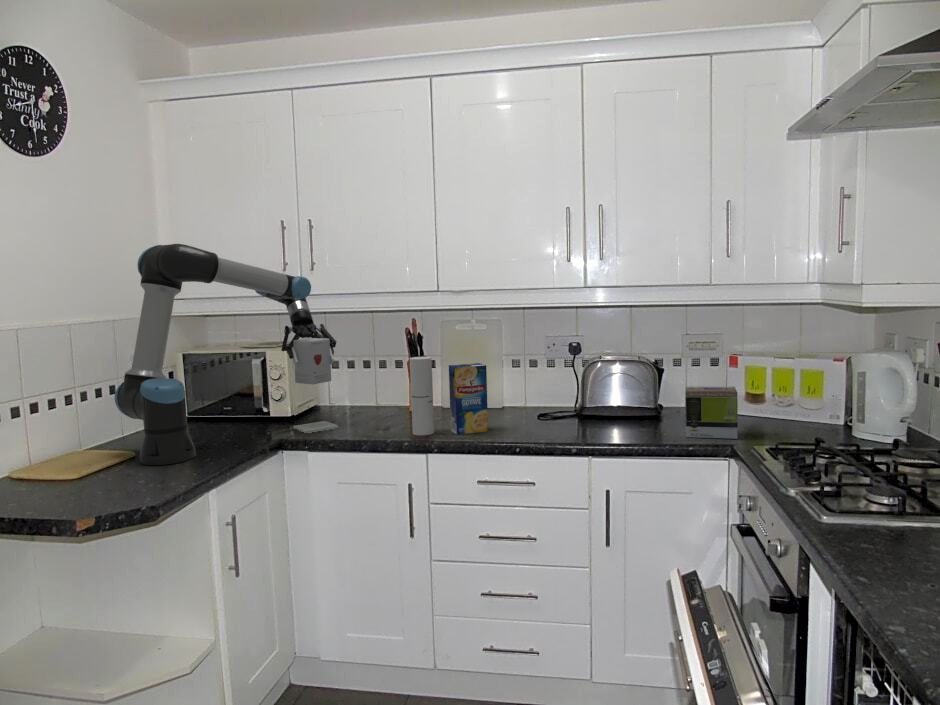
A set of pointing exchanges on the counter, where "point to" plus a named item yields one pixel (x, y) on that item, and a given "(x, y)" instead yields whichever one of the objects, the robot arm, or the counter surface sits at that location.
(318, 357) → the supplement box
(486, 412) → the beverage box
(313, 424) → the pad
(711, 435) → the tea box
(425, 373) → the cylindrical container
